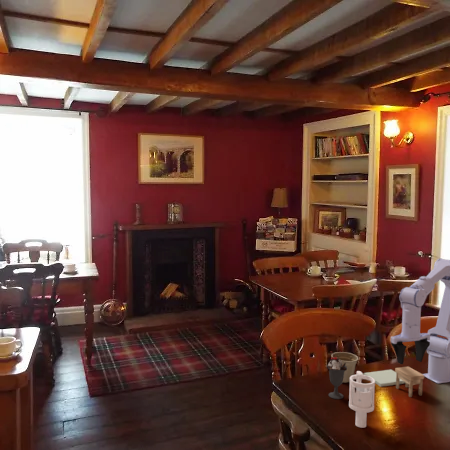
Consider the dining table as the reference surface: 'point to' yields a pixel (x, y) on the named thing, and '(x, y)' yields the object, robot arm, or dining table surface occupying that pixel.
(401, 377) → the stool
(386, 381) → the board
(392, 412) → the dining table surface
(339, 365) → the sundae
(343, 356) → the flower pot
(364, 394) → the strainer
